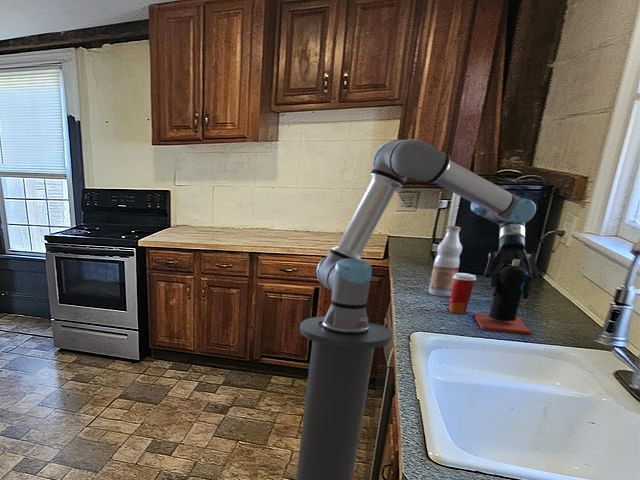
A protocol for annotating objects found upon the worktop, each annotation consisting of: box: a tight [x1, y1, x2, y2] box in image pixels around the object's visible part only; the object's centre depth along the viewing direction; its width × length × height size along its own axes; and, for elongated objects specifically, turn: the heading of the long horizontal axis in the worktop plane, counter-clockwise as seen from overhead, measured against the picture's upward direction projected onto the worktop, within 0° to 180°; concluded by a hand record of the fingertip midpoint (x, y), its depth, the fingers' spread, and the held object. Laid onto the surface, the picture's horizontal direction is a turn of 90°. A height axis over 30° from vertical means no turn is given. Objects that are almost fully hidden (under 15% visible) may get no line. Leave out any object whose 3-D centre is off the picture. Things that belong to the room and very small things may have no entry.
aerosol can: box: [488, 259, 528, 321], centre depth 178 cm, size 8×8×20 cm
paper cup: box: [448, 272, 477, 315], centre depth 195 cm, size 8×8×14 cm
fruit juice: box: [428, 225, 463, 297], centre depth 219 cm, size 9×9×28 cm
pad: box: [473, 313, 532, 336], centre depth 182 cm, size 14×18×1 cm
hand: (510, 295), depth 175 cm, fingers closed on aerosol can, 8 cm apart
